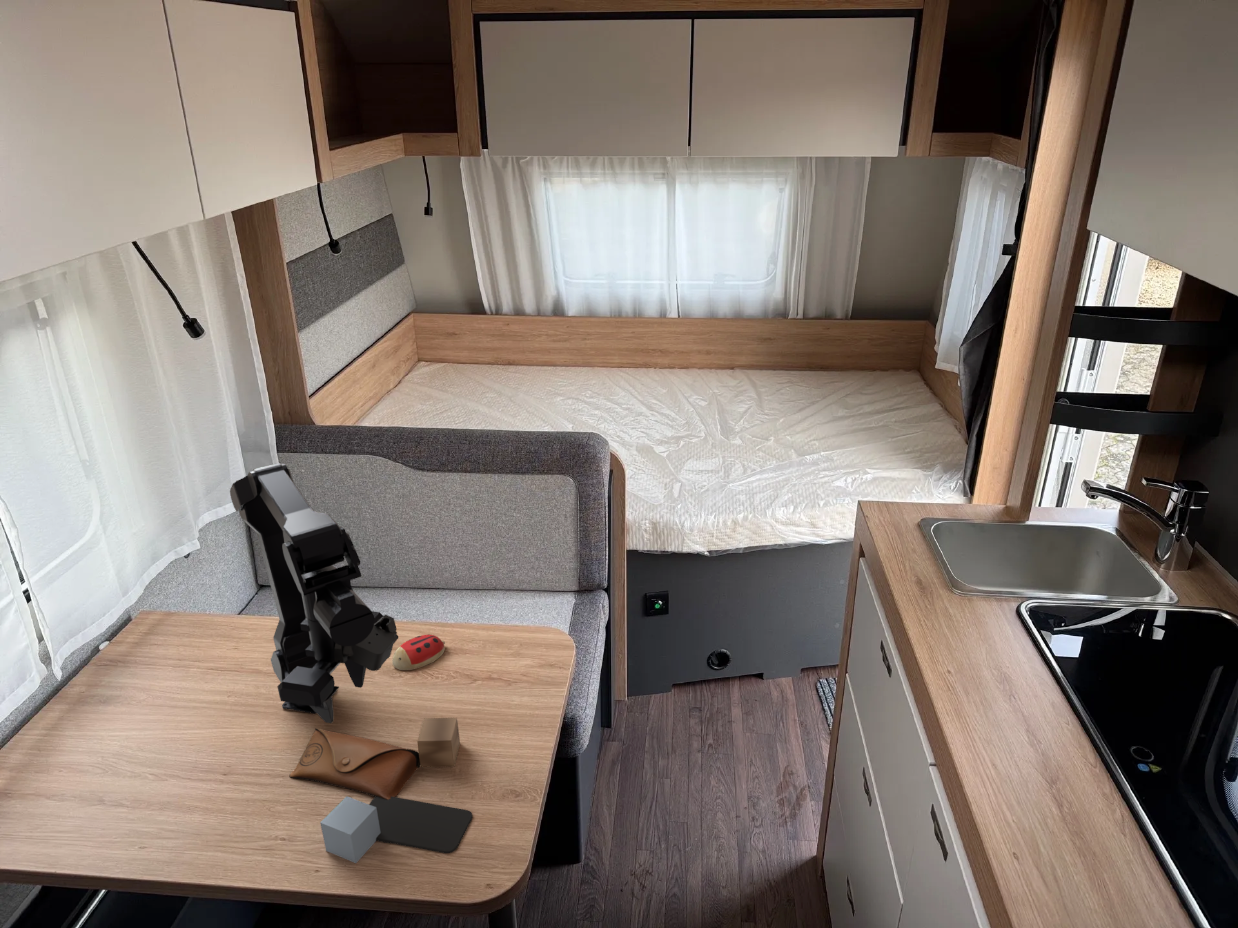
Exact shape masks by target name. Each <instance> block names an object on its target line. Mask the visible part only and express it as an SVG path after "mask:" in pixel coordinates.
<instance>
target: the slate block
mask: <svg viewBox="0 0 1238 928" xmlns="http://www.w3.org/2000/svg"><path fill="white" fill-rule="evenodd" d="M369 804H370V803H369ZM369 804H368V803H366V802H363V801H360V800H359V799H355V798H352V797H350V796H345V797H344V798H343V799H342V800H341V801H340V802H339V803H338V804H337V805H336V806H335V807H334V808H333V809H332V810H331V811H330V812H329V813H328V814H327V815H326V816H325V817H324V818H323V819H322V820H321V821H320V822H319V824H320V828H321V833H322V837H323V841H324V842H323V843H324V848H325V852H328V853H330V854H332V855H335V856H337V857H340V858H342V859H345V860H347V861H350V862H352V863H354V864H357V863H358V862H359V860H361V859H362V858H363V856H364V855H365V854H366V853H367V852H368V850H369V849H370V848H371V847H372V846H373V845H374V844H375V843H376V842H377V841H376V838H377V836H378V835H379V834H380V833H381V832H380V826H379V820H378V815H377V809H376V807H374V806H371V805H369Z"/></svg>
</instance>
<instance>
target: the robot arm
mask: <svg viewBox="0 0 1238 928" xmlns="http://www.w3.org/2000/svg"><path fill="white" fill-rule="evenodd" d="M229 493H230V500H231V502H232V506H233V508H234V510H235V512H239V515H240V519H241V520H242V521H243V522H244V523H246V525H248V526H249V527H250V528H251V529H252V530H254V532H255V533H256V536H257V539H258V544H259V547H260V551H261V555H262V559H263V563H264V566H265V569H266V574H267V577H268V581H269V584H270V585H269V586H270V588H271V592H272V595H273V600H274V603H275V604H274V605H275V607H276V611H277V615H278V619H279V620H278V623H277V626H276V628H275V632H274V633H273V638H272V639H273V642H274V646H275V650H274V651H273V652H272V654H271V658H270V662H271V665H272V669H273V672H274V674H275V676H276V678H277V679H278V681H279V684H278V685H277V686H276V687H277V692H278V696H279V699H280V702H283V703H282V704H281V707H282V709H283V710H289V711H295V712H300V713H301V712H302V713H308V714H312V715H313V714H314V715H315V714H317V715H318V716H319V717H320V719H322V720H323V721H324V722H325V723H327V724H333V722H334V716H335V714H334V702H333V696H334V695H335V694H336V692H338V690H339V688H340V686H338V685H335V678H334V676H333V675H332V673H333V672H334V671H336V669H337V668H338V667H339V666H340V665H341V664H344V666H345V669H346V671H347V672H348V675H349V678H350V680H351V682H352V683H353V685H354V687H355V688H360V689H361V688H362V687H363V686H364V682H365V677H366V676H365V675H366V671H367V670H369V671H370V672H371V671H372V672H376V671H379V670H380V669H381V668H382V667H383V665H384V664H385V662H387V660H388V659H389V658H390V657H391V655H392V650H393V647H394V645H395V643H396V642H397V640H398V639H399V635H398V631H397V625H396V622H395V618H394V617H392V616H390V615H388V614H384V615H383V614H382V613H381V612H380V611H373V610H371V609H370V607H369V606H368V605H367V604H366V603H365V602H364V600H363V599H361V597H360V596H359V595H358V594H357V593H356V592H355V591H354V589H353V587H352V583H351V581H352V580H356V579H358V578H360V577H362V573H361V570H360V567H359V566H360V565H361V559H360V557H359V555H358V552H357V550H356V547H355V545H354V543H353V539H352V538H351V536H350V533H348V532H346V529H345V527H343V526H340V525H339V524H338V523H337V522H336V521H335V520H334V518H332V516H331V515H330V514H327V513H324V512H319V511H315V510H314V509H313V508H312V507H311V505H310V503H309V502H308V501H307V500H306V497H304V495H303V494H302V492H301V491H300V489H299V488H298V487H297V485H296V483H295V481H294V479H293V476H292V473H291V470H290V468H288V466H287V464H286V463H280V462H278V463H272V464H270V465H265V466H261V467H257V468H253V470H252V471H249V472H248V474H247V475H245V476H243V477H242V478H240V479H237V480H235V481H234V482H233V483H232V485H231V487H230V490H229ZM345 561H346V563H347V565H343V566H340V567H336V565H337V564H340V563H343V562H345ZM334 565H335V566H334Z"/></svg>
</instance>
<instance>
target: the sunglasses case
mask: <svg viewBox="0 0 1238 928" xmlns="http://www.w3.org/2000/svg"><path fill="white" fill-rule="evenodd" d="M420 768H421V766H420V759H419V752H418V750H414V749H412V748H405V747H401V746H397V745H393V744H390V743H386V742H381V741H379V740H374V739H369V738H366V737H360V736H356V735H351V734H347V733H342V732H335V731H330V730H325V729H322V728H318V727H315V728H314V732H313V734H312V735H311V738H310V739H309V742H308V744H307V746H306V747H305V749H304V751H303V753H302V755H301V757H300V758H299V761H298V763H297V765H296V766H295V768H294V769H293V770H294V771H293V770H292V771H291V772H290V773H289V778H291V779H300V780H305V781H312V782H317V783H322V784H326V785H330V786H331V785H332V786H335V787H339V788H343V789H347V790H352V791H355V792H360V793H363V794H366V795H369V796H372V797H373V798H375V797H376V796H378V797H381V798H384V799H387V800H389V799H391V796H392V797H398V795H400V792H401V791H402V790H403V789H404V786H405V785H406V784H407V783H408V782H409V780H410V779H411V777H412V776H413V775H414V773H415V772H416V771H417V769H420Z"/></svg>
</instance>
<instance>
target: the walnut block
mask: <svg viewBox="0 0 1238 928" xmlns="http://www.w3.org/2000/svg"><path fill="white" fill-rule="evenodd" d="M460 741H461V739H460V731H459V722H458V717H424V718H423V720H422V724H421V727H420V730H419V733H418V736H417V740H416V744H417V752H418V753H419V759H420V768H455V766H456V762H457V757H458V754H459V750H460V745H461V742H460Z"/></svg>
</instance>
